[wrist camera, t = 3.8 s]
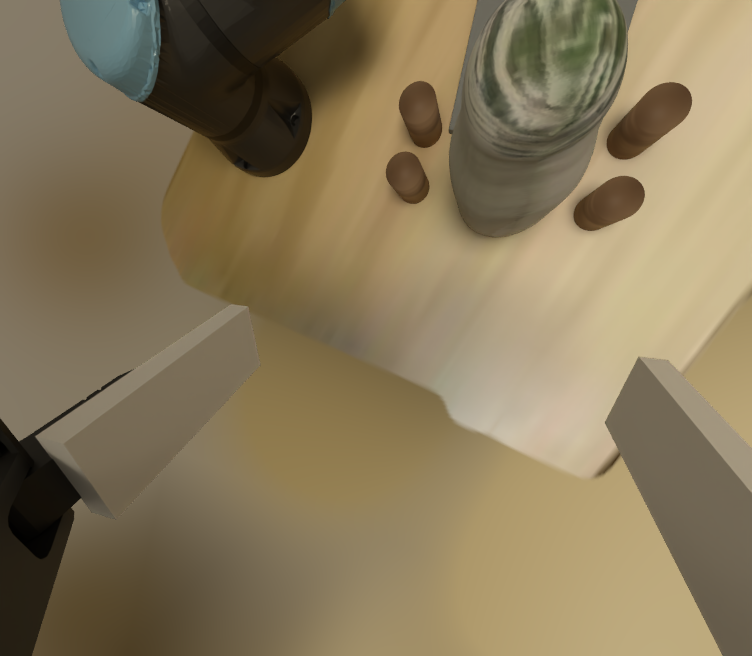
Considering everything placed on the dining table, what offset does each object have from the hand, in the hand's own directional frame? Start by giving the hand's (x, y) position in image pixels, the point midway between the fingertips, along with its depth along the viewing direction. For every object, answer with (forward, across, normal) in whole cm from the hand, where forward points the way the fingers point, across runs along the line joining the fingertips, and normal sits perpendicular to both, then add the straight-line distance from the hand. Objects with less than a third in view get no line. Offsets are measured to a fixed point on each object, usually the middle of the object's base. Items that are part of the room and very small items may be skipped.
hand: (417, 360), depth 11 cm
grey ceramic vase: (+36, +6, +1) cm, 36 cm away
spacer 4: (+37, +18, +7) cm, 42 cm away
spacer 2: (+37, -5, +2) cm, 37 cm away
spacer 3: (+34, +16, 0) cm, 38 cm away
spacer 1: (+39, -4, +8) cm, 40 cm away
